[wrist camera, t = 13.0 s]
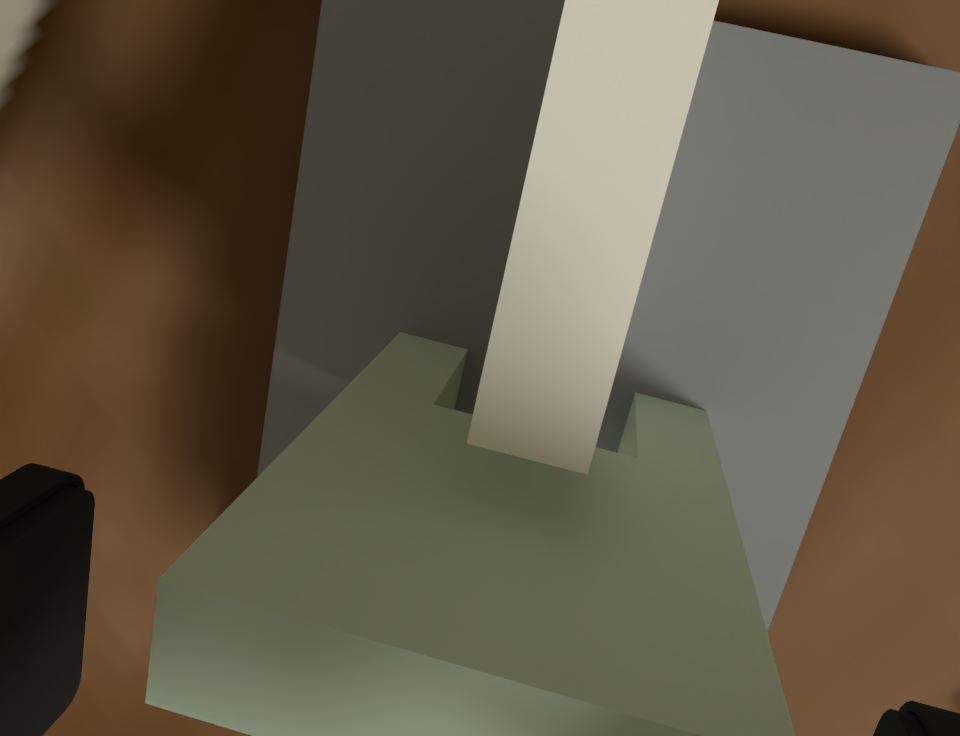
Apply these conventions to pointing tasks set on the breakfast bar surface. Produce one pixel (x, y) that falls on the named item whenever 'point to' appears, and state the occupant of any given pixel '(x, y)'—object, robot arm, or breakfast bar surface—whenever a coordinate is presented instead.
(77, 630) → the robot arm
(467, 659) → the green slotted plate
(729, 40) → the stand
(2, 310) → the breakfast bar surface
